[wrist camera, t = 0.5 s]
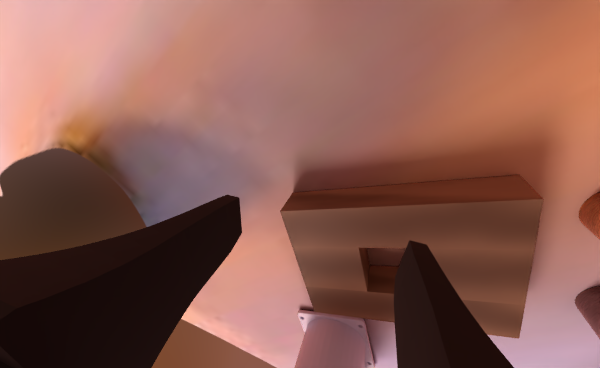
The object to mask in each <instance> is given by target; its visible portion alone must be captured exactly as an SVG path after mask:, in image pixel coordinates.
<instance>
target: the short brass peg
mask: <svg viewBox="0 0 600 368" xmlns="http://www.w3.org/2000/svg"><path fill="white" fill-rule="evenodd" d="M579 218H580V221H581V222H582V223H583V225H584V226H586V227H587V228H588V229H589V230H590V231H591V232H592V233H593V234H594V235H595V236H596V237H598V238H599V239H600V192H599V193H597V194H595V195H593V196H591V197H590V198H589V199H587V200H586V201H585V202H584V204H583V205H582V206H581V208H580V211H579Z"/></svg>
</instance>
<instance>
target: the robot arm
mask: <svg viewBox="0 0 600 368" xmlns="http://www.w3.org/2000/svg"><path fill="white" fill-rule="evenodd" d="M241 233H242V227H241V214H240V202H239V198H238V197H234V196H230V195H225V196H222V197H220V198H217V199H215V200H213V201H210V202H208V203H206V204H203V205H201V206H199V207H197V208H194V209H192V210H190V211H187V212H185V213H183V214H180V215H178V216H175V217H173V218H170V219H168V220H165V221H162V222H160V223H157V224H155V225H152V226H149V227H146V228H143V229H141V230H137V231H134V232H131V233H128V234H125V235H121V236H118V237H114V238H110V239H106V240H103V241H99V242H95V243H91V244H87V245H83V246H79V247H74V248H69V249H65V250H60V251H55V252H50V253H44V254H39V255H32V256H26V257H19V258H14V259H6V260H0V368H151V367H152V366H153V364H154V362H155V360H156V359H157V357H158V355H159V353H160V352H161V350H162V348H163V347H164V345H165V343H166V341H167V340H168V338H169V337H170V335H171V333H172V332H173V330H174V329H175V327H176V325H177V324H178V322H179V321H180V319H181V318H182V316H183V314H184V313H185V311H186V310H187V308H188V307H189V305H190V304H191V302H192V301H193V299H194V298H195V297H196V295H197V294H198V293H199V291H200V290H201V289H202V288H203V286H204V285H205V284H206V282H207V281H208V280H209V279H210V277H211V276H212V275H213V274H214V272H215V271H216V270H217V269H218V267H219V266H220V265H221V264H222V262H223V261H224V260H225V258H226V257H227V256H228V255H229V253H230V252H231V250H232V249H233V247H234V245H235V244H236V242H237V240H238V239H239V237H240V235H241ZM297 314H298V317H299V320H300V322H301V325H302V327H303V330H304V332H305V335H304V338H303V341H302V345H301V348H300V351H299V355H298V358H297V361H296V365H295V368H375V364H374V360H373V355H372V351H371V346H370V342H369V337H368V333H367V329H366V324H365V321H364V319H362V318H357V317H349V316H341V315H334V314H326V313H318V312H313V311H305V310H299V311H298V313H297ZM394 318H395V333H396V348H397V363H398V368H514V367H513V366H512V365H511V364H510V362H509V361H508V360H507V359H506V358H505V356H504V355H503V354H502V353H501V351H500V350H499V349H498V348H497V347H496V345H495V344H494V343H493V342H492V340H491V339H490V338H489V337H488V335H487V334H486V333H485V331H484V330H483V329H482V327H481V326H480V325H479V323H478V322H477V321H476V319H475V318H474V317H473V315H472V314H471V313H470V311H469V310H468V308H467V307H466V305H465V304H464V303H463V301H462V300H461V298H460V297H459V295H458V294H457V292H456V291H455V289H454V287H453V286H452V284H451V283H450V281H449V280H448V278H447V277H446V275H445V273H444V272H443V270H442V269H441V267H440V265H439V264H438V262H437V260H436V259H435V257H434V255H433V254H432V252H431V250H430V249H429V247H428V246H427V244H423V243H419V242H415V241H411V240H409V242H408V245H407V247H406V250H405V252H404V255H403V257H402V260H401V263H400V265H399V268H398V270H397V273H396V275H395V285H394Z"/></svg>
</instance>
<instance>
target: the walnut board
mask: <svg viewBox="0 0 600 368" xmlns="http://www.w3.org/2000/svg"><path fill="white" fill-rule="evenodd" d="M542 205H543V198H542V197H541V196H540V195H539V194H538V193H537V192H536V191H535V190H534V189H533V188H532V187H531V186H530V185H529V184H528V183H527V182H526V181H525V180H524V179H523V178H522V177H521V176H520V175H510V176H497V177H484V178H472V179H459V180H447V181H434V182H421V183H409V184H396V185H383V186H371V187H358V188H345V189H333V190H320V191H307V192H295V193H292V195H291V196H290V198H289V199H288V201H287V202H286V204H285V205H284V206H283V208H282V209H281V211H280V212H281V215H282V218H283V221H284V224H285V227H286V230H287V233H288V236H289V238H290V241H291V244H292V247H293V250H294V253H295V256H296V259H297V262H298V265H299V268H300V271H301V273H302V276H303V279H304V282H305V285H306V288H307V291H308V294H309V297H310V300H311V303H312V306H313V308H314V311H315V312H318V313H326V314H334V315H341V316H349V317H357V318H364V319H372V320H380V321H388V322H395V318H394V285H395V275H396V273H397V270H398V268H399V266H376V265H370V263H369V258H368V253H367V248H406V247H407V245H408V242H409V240H411V241H415V242H419V243H423V244H427V246H428V247H429V249H430V250H431V252H432V254H433V255H434V257H435V259H436V260H437V262H438V264H439V265H440V267H441V269H442V270H443V272H444V273H445V275H446V277H447V278H448V280H449V281H450V283H451V284H452V286H453V287H454V289H455V291H456V292H457V294H458V295H459V297H460V298H461V300H462V301H463V303H464V304H465V305H466V307H467V308H468V310H469V311H470V313H471V314H472V315H473V317H474V318H475V319H476V321H477V322H478V323H479V325H480V326H481V327H482V329H483V330H484V331H485V333H486V334H488V335H496V336H504V337H511V338H519V336H520V330H521V325H522V319H523V313H524V308H525V302H526V296H527V291H528V285H529V279H530V273H531V268H532V262H533V256H534V251H535V245H536V239H537V234H538V228H539V222H540V216H541V211H542Z"/></svg>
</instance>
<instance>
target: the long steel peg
mask: <svg viewBox="0 0 600 368" xmlns="http://www.w3.org/2000/svg"><path fill="white" fill-rule="evenodd" d="M575 304H576V306H577V308H578V309H579V311H580V312H581V314H582V315H583V316H584V318H585V319H586V321H587V322H588V323H589V325H590V326H591V328H592V329H593V330H594V332H595V333H596V335H597V336H598V337H599V339H600V286H597V287H592V288H589V289H587V290H585V291H583V292H581V293H580V294H579V295H578V296H577V297H576V299H575Z"/></svg>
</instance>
